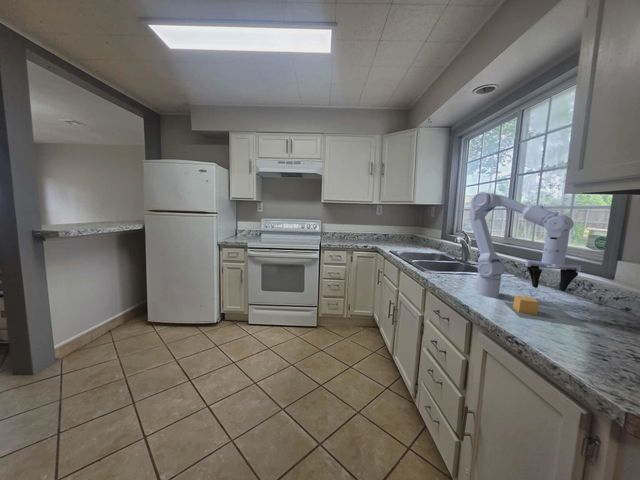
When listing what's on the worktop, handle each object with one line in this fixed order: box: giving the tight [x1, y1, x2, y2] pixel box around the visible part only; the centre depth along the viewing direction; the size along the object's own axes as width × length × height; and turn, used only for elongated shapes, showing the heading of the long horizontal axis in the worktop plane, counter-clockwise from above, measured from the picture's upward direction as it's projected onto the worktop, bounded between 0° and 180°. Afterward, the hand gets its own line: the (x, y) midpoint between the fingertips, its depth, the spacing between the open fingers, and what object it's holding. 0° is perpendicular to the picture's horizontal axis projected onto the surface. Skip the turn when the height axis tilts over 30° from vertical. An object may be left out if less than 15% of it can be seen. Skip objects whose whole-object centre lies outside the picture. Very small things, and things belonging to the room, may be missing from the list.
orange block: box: [512, 294, 540, 315], centre depth 85 cm, size 5×5×4 cm
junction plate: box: [503, 301, 591, 329], centre depth 84 cm, size 15×18×1 cm
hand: (548, 288), depth 85 cm, fingers open, 7 cm apart
